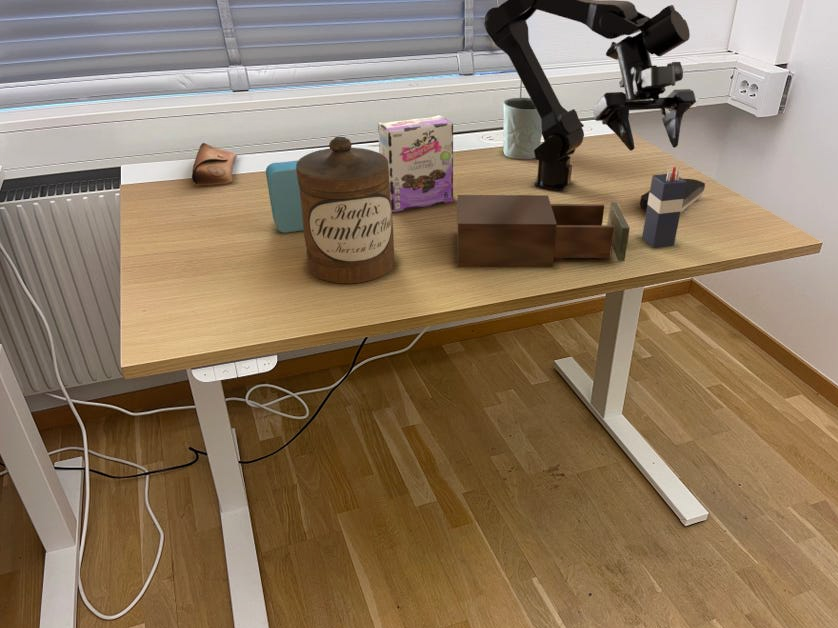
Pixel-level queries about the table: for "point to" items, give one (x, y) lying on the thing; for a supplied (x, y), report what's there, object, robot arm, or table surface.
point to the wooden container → (346, 212)
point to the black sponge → (691, 194)
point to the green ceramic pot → (521, 128)
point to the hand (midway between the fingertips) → (654, 148)
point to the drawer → (589, 231)
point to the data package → (285, 196)
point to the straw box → (664, 209)
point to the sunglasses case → (212, 166)
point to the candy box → (418, 161)
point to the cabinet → (505, 231)
